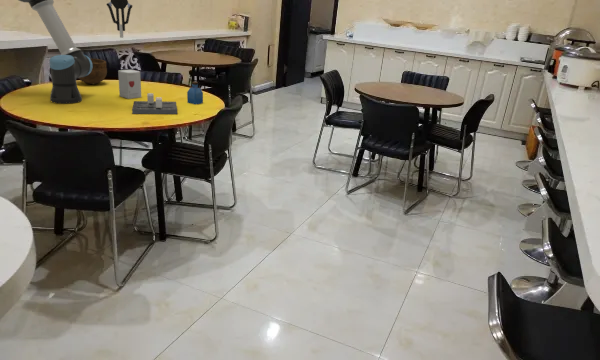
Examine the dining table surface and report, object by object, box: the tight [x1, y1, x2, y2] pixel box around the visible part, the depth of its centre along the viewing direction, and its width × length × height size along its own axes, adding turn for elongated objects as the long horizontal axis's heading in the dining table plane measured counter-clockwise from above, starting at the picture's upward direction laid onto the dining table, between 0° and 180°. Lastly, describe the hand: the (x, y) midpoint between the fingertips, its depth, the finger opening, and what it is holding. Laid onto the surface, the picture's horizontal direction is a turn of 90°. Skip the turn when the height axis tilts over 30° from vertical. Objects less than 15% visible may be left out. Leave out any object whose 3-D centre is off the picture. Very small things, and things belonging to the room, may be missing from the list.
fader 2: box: [155, 96, 163, 108], centre depth 237 cm, size 3×5×5 cm, turn 16°
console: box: [131, 100, 178, 115], centre depth 243 cm, size 22×19×2 cm
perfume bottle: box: [186, 81, 204, 105], centre depth 263 cm, size 6×6×12 cm
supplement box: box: [117, 69, 142, 100], centre depth 265 cm, size 9×9×15 cm
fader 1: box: [146, 92, 155, 103], centre depth 245 cm, size 3×5×5 cm, turn 16°
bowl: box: [78, 58, 108, 85], centre depth 291 cm, size 19×19×15 cm
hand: (121, 37), depth 245 cm, fingers closed
